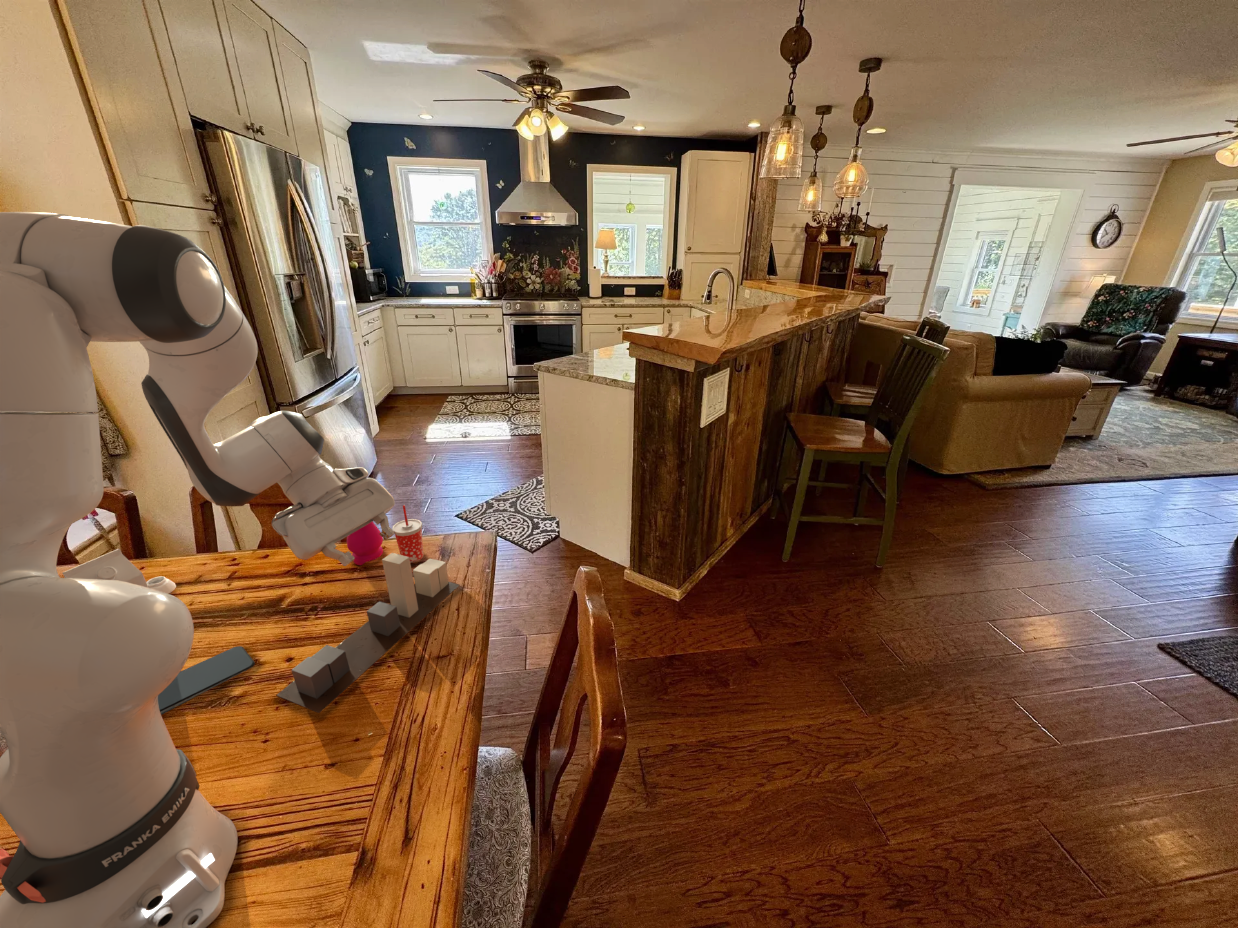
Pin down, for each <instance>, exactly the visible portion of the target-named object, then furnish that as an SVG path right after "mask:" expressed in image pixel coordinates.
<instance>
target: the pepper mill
mask: <svg viewBox="0 0 1238 928" xmlns="http://www.w3.org/2000/svg"><path fill="white" fill-rule="evenodd" d="M381 532H382V531H380V529H379V528H378V526H377V524H376V523H375V522H374V521H373V522H371V523H369V524H367V525H366V526H364V527H362V528H361V529H359V530H357V531H355V532H354V533H352V534H350V535H349V536H347V537H346V547H347V549H348V551H349V552H350V553H351V555H353V556H354V558H355V559H354V560H353V562H352V563H354V564H355V565H357V566H362V565H364V564H365V563H368V562H372V561H375V560H377V559H379V558H380V557H381V556H382V555H383V554H384V549H383V546H382V545H383V542H384V539H383V537H381V535H380V533H381Z"/></svg>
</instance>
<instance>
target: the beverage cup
mask: <svg viewBox="0 0 1238 928" xmlns="http://www.w3.org/2000/svg"><path fill="white" fill-rule="evenodd" d="M406 509H407V508H406V505H405V504H403V505H402V511H403V514H404V515H403V517H404V519H403V520H400V521H397V522H396V523H395V524H393V525H392V527H391V529H392V530H393V531H394V536H395V539H396V543H397V547H398V551H399V555H403V556H407V557H409V559H410V563H415V562H418V561H420V560H422V559H423V558H424V555H425V554H424V553H425V552H424V542H423V531H422V529H423V523H422V521H421V520H419V519H416V518H409V519H408V514H407V510H406Z"/></svg>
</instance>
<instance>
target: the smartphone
mask: <svg viewBox="0 0 1238 928" xmlns="http://www.w3.org/2000/svg"><path fill="white" fill-rule="evenodd" d="M254 666H255V661H254V659H253V658H252V656H250V654H249V653H248V651H246V649H245V647H243V646H241V645H238V646H234V647H231V648H229V649H227V650H225V651H223V652H221V653H217V654H216V655H214V656H211V657H209V658H207V659H205V660H202V661H200V662H198V663H196V664H194V665H191V666H189V667H186V668H184V669H183V670H181V671H180V672H179V674H178V675H177V677H176V678H175V679H174V680H173V681H172V682H171V683H170V684H169V685H168V686H167V687H166V688H165V689H164V690H163V691H162V692H161V693H160V694H159V695H158V705H159V710H160V713H161V715H164V714H166V713H167V712H169V711H171V710H173V709H175V708H176V707H179V706H181V705H183V704H185V703H188V702H189V701H191V700H192V699H194V698H196V697H198V696H200V695H202V694H204V693H206V692H208V691H209V690H211V689H213V688H215V687H217V686H219V685H221V684H223V683H224V682H227V681H229V680H231V679H232V678H235V677H237V676H238V675H241V674H242V673H244V672H246V671H248V670H250V669H252V668H253V667H254Z"/></svg>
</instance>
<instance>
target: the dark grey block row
mask: <svg viewBox="0 0 1238 928" xmlns="http://www.w3.org/2000/svg"><path fill="white" fill-rule="evenodd" d="M366 614H367V618H368V621H369V624H370V628H371V631H373V632H377V633H380V634H383V635H386V636H389V635H390V634H391V633H393V632H394V631H395V630H396V629H397V628H398V627H399V626H400V622H399V617H398V611H397V607H396V606H393V605H390V603H386V602H383V601H378V602H376V603H375V604H374V605H373V606H371V607H370V608H369V609H367V610H366ZM349 670H350V668H349V664H348V660H347V656H346V653H345V651H343V650H340V649H337V648H336V646H335V647H334V646H331V645H328V644H326V645H324V646H323V647H321V648H320V650H318V651H317V652H315V653H314V654H313V655H312V656H307V657H306V658H305V659H303V660H302V661H301V662H299V663H298V664H297V665H296V666H294V667H293V668H292V669H291V670H290V671H291V674H292V677H293V681H294V680H295V683H296V686H297V690H298V692H301V693H304V694H306V695H309V696H311V697H314V698H316V699H317V698H319V697H320V696H321V695H322V694H323V693H324V692H325V691H327V690H328V689H329V688H330V687H331V686H332V685H333V683H336V682H337V681H338V680H339V679H340V678H341V677H342V676H344V675H345V674H346V673H347V672H348V671H349Z"/></svg>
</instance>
